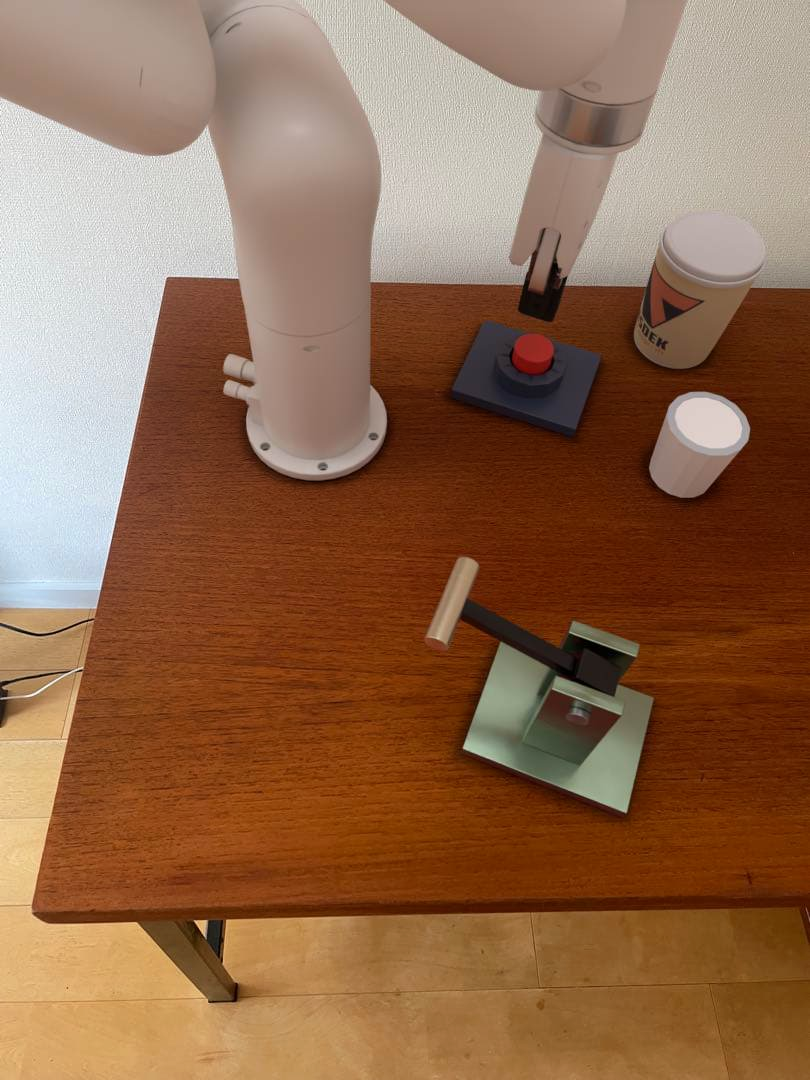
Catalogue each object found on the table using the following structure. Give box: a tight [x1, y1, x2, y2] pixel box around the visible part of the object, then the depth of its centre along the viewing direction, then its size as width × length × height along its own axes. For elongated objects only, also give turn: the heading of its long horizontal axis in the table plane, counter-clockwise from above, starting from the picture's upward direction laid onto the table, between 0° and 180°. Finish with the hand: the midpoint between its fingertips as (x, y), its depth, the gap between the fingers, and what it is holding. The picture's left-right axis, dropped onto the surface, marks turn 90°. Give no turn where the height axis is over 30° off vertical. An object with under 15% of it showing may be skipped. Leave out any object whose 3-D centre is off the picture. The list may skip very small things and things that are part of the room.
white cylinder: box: [648, 391, 751, 499], centre depth 69 cm, size 7×7×7 cm
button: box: [512, 333, 554, 375], centre depth 74 cm, size 4×4×2 cm
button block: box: [450, 319, 603, 438], centre depth 75 cm, size 12×10×3 cm
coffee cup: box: [633, 209, 767, 370], centre depth 75 cm, size 9×9×12 cm
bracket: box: [460, 619, 655, 818], centre depth 54 cm, size 12×9×12 cm
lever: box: [423, 556, 622, 697], centre depth 50 cm, size 12×6×2 cm, turn 69°
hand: (537, 311), depth 69 cm, fingers closed
